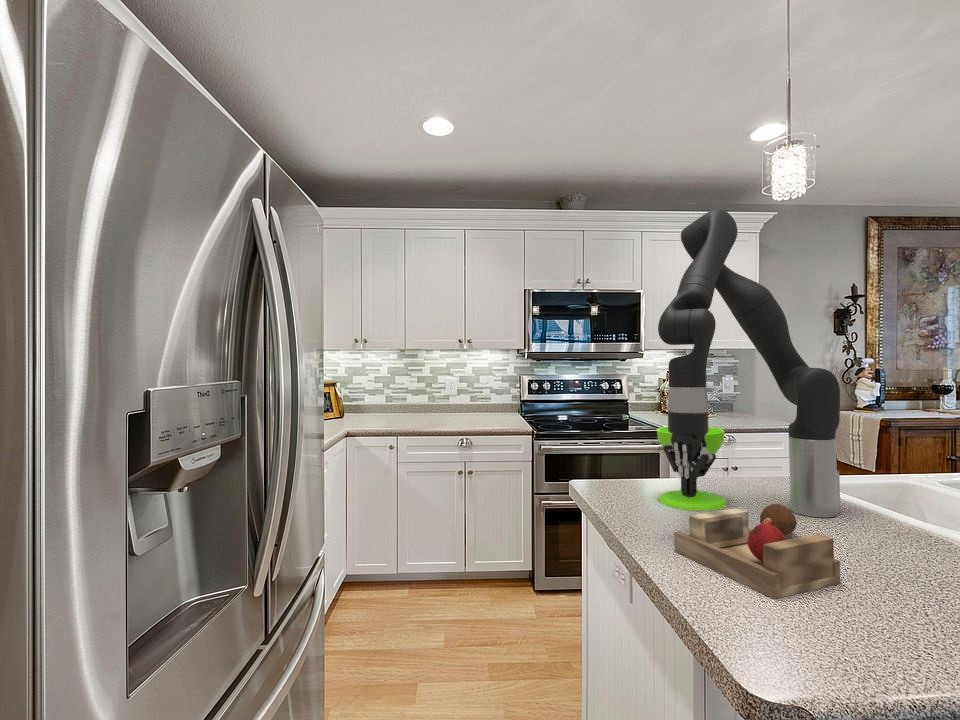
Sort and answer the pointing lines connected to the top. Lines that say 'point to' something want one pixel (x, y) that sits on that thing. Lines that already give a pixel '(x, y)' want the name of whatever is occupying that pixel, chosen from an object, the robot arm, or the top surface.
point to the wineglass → (702, 498)
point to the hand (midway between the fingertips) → (688, 496)
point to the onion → (763, 537)
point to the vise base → (769, 563)
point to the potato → (780, 518)
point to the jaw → (720, 527)
